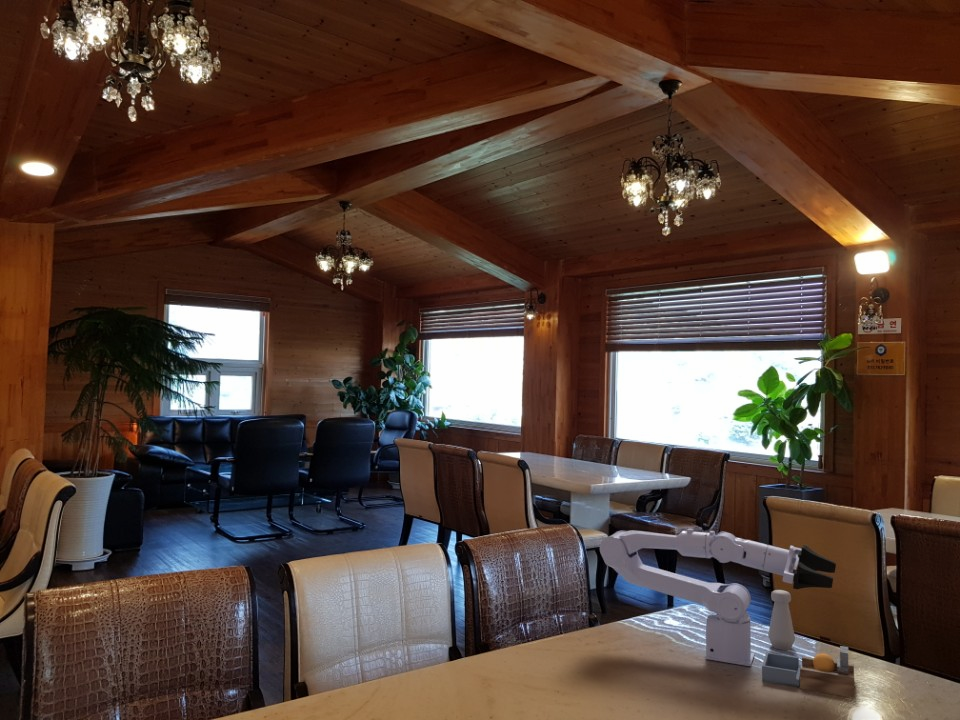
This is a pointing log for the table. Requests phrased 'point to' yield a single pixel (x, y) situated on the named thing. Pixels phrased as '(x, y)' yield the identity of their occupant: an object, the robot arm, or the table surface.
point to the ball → (823, 663)
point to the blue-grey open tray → (781, 669)
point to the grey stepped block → (843, 661)
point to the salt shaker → (781, 621)
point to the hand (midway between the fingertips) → (834, 575)
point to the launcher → (826, 679)
